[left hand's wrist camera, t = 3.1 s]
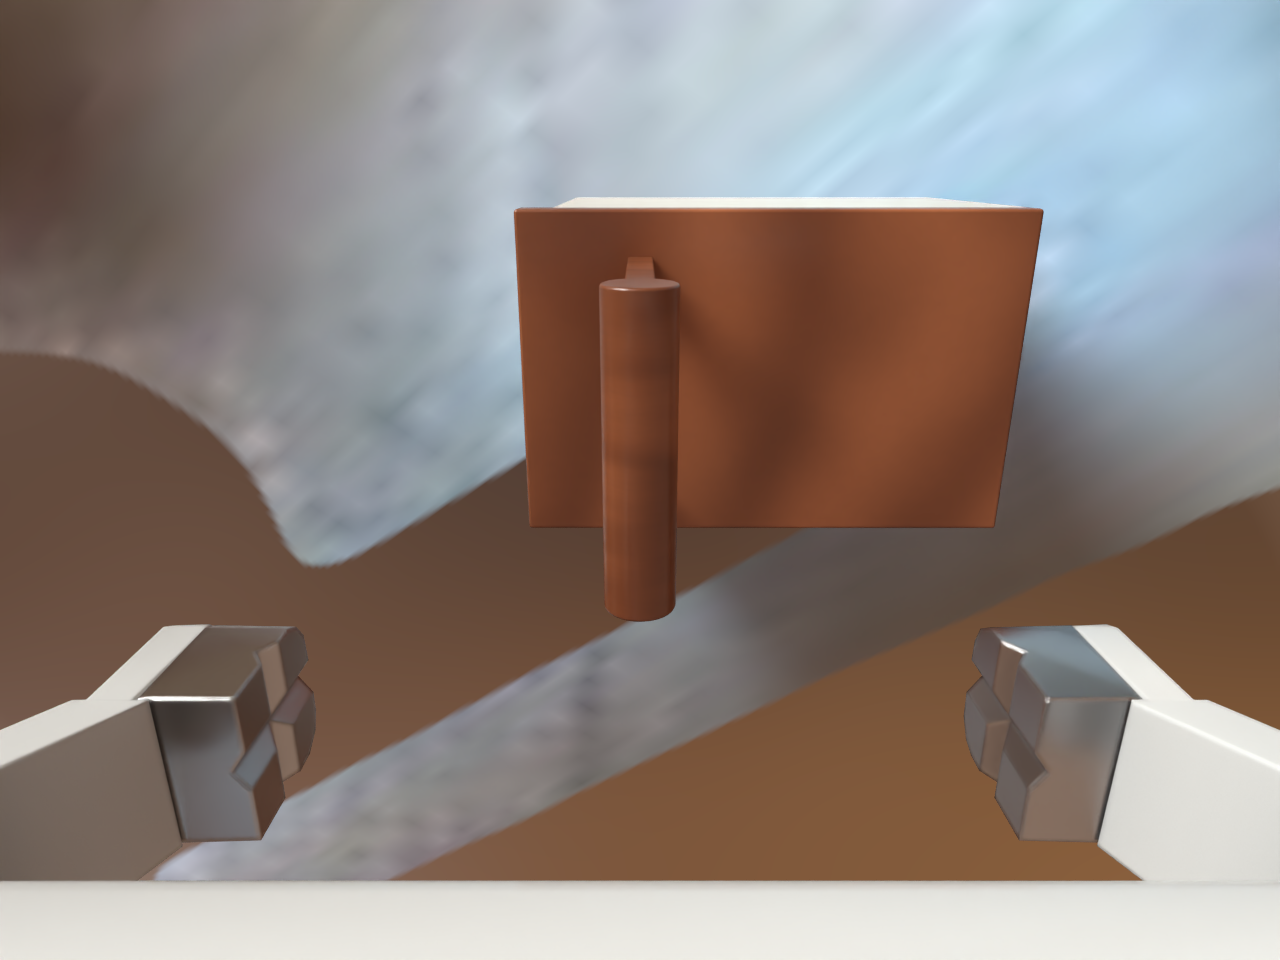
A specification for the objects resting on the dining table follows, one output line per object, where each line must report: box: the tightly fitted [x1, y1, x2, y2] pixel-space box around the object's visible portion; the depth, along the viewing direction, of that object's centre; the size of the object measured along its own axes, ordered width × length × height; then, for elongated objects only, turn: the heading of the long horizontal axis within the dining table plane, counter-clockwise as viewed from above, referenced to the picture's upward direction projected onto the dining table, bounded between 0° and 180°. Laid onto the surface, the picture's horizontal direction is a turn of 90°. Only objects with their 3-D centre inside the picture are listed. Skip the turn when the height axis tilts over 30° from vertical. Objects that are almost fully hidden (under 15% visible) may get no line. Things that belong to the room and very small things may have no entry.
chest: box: [554, 197, 1020, 208], centre depth 30 cm, size 14×10×9 cm
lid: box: [514, 207, 1044, 622], centre depth 22 cm, size 15×10×9 cm, turn 90°
